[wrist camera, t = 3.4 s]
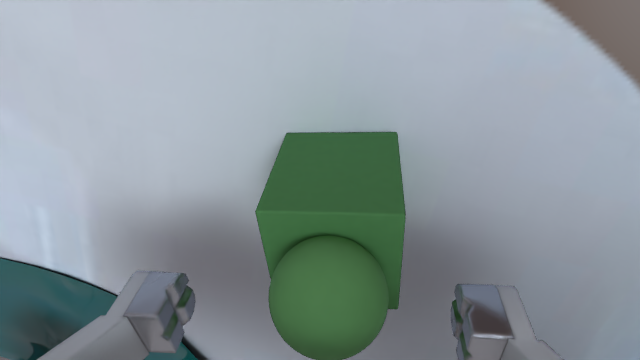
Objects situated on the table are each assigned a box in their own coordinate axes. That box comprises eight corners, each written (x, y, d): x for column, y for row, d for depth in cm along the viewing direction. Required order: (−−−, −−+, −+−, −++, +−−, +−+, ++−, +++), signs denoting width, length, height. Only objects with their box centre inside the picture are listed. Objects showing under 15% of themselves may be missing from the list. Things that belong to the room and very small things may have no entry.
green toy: (397, 131, 15) (414, 304, 8) (392, 217, 17) (403, 399, 11) (285, 132, 15) (221, 293, 9) (297, 214, 18) (254, 385, 11)
